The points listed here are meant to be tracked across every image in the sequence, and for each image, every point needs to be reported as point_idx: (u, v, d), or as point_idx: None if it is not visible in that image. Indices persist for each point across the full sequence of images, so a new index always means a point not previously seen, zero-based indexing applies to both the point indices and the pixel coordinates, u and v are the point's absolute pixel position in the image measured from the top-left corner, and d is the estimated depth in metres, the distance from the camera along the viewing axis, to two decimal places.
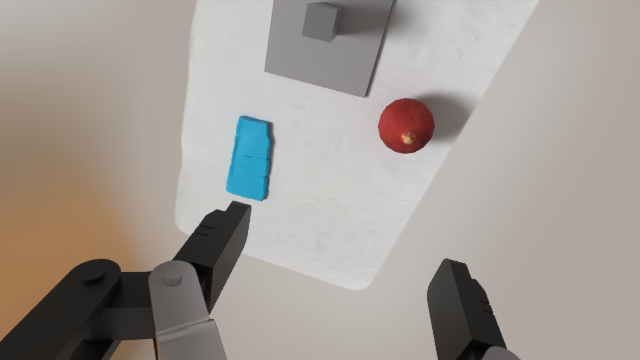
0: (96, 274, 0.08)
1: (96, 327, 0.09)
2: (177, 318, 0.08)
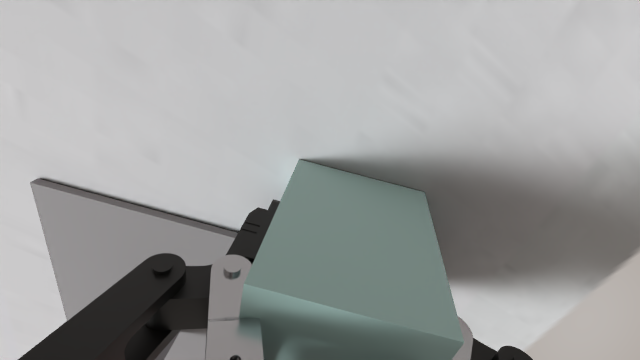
0: (165, 267, 0.09)
1: (157, 317, 0.09)
2: (228, 308, 0.09)
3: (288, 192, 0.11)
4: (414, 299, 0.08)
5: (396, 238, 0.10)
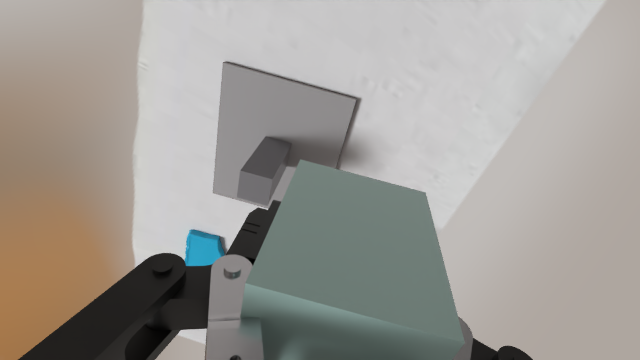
0: (165, 267, 0.09)
1: (157, 316, 0.09)
2: (228, 308, 0.09)
3: (289, 192, 0.11)
4: (414, 299, 0.08)
5: (397, 238, 0.10)
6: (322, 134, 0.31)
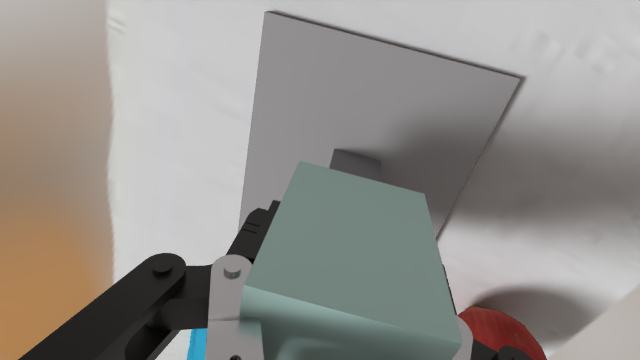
0: (164, 267, 0.09)
1: (157, 316, 0.09)
2: (228, 308, 0.09)
3: (288, 193, 0.11)
4: (413, 301, 0.08)
5: (396, 240, 0.10)
6: (440, 144, 0.17)
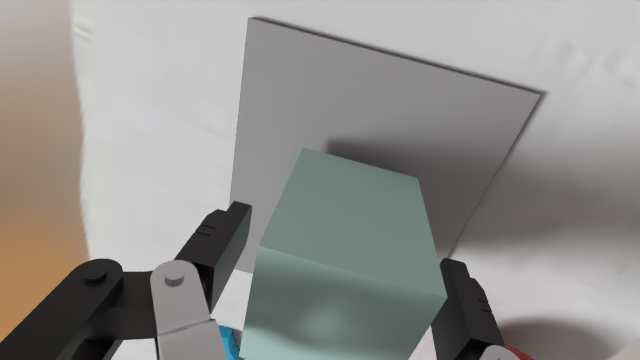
0: (98, 274, 0.08)
1: (98, 326, 0.09)
2: (179, 317, 0.08)
3: (294, 174, 0.12)
4: (405, 263, 0.09)
5: (391, 215, 0.11)
6: (448, 167, 0.15)
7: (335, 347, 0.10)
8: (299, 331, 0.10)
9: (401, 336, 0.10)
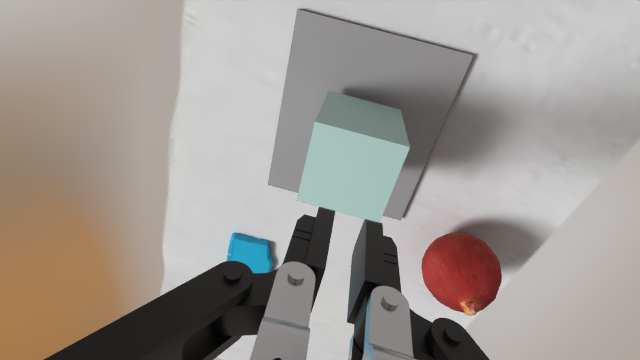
0: (234, 275, 0.09)
1: (219, 321, 0.10)
2: (284, 312, 0.09)
3: (326, 100, 0.21)
4: (389, 135, 0.18)
5: (382, 120, 0.20)
6: (420, 104, 0.24)
7: (352, 187, 0.19)
8: (332, 177, 0.19)
9: (387, 175, 0.18)
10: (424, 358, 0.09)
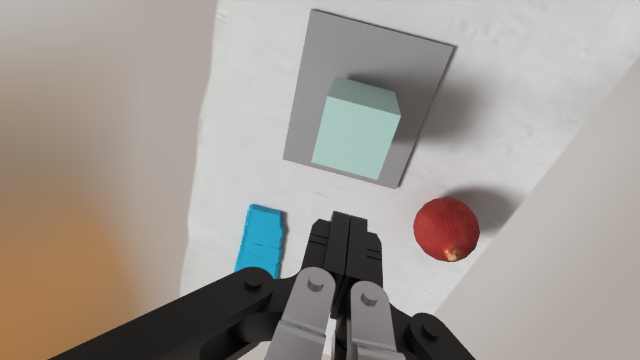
0: (255, 282, 0.09)
1: (237, 326, 0.10)
2: (301, 317, 0.09)
3: (334, 83, 0.26)
4: (385, 107, 0.23)
5: (380, 98, 0.25)
6: (411, 88, 0.29)
7: (355, 150, 0.24)
8: (340, 142, 0.24)
9: (383, 139, 0.23)
10: (403, 353, 0.09)
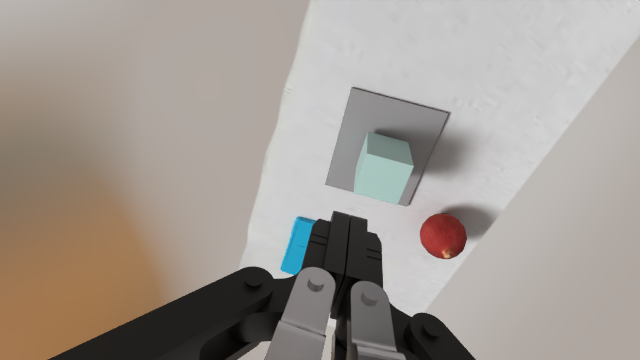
0: (255, 282, 0.09)
1: (237, 326, 0.10)
2: (301, 317, 0.09)
3: (368, 139, 0.39)
4: (403, 159, 0.36)
5: (399, 150, 0.38)
6: (419, 138, 0.41)
7: (383, 186, 0.37)
8: (373, 181, 0.37)
9: (402, 180, 0.36)
10: (403, 353, 0.09)
